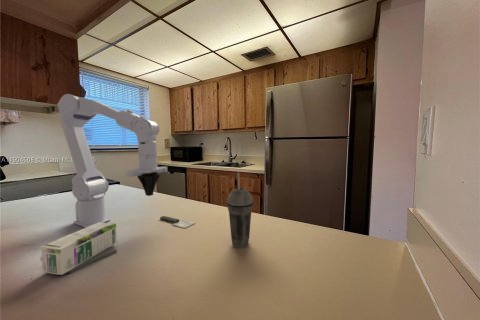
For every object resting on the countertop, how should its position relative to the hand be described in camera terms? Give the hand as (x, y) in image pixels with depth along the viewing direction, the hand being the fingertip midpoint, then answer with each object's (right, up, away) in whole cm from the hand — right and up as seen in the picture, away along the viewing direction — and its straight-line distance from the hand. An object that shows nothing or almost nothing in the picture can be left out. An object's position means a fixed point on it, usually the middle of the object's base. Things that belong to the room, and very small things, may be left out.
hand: (149, 195), depth 70 cm
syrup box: (-5, -8, -13) cm, 16 cm away
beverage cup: (+31, -11, -14) cm, 36 cm away
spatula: (+8, -10, +3) cm, 13 cm away
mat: (-9, -12, -19) cm, 24 cm away
